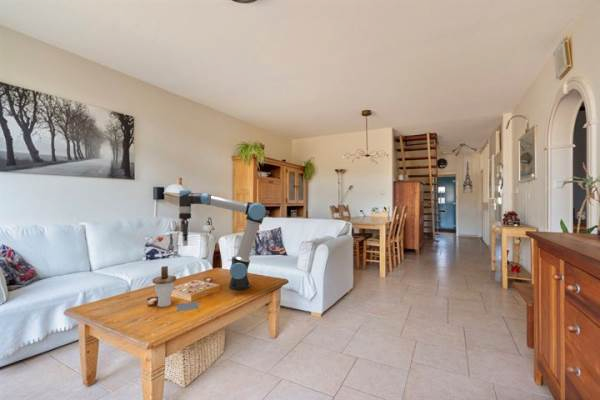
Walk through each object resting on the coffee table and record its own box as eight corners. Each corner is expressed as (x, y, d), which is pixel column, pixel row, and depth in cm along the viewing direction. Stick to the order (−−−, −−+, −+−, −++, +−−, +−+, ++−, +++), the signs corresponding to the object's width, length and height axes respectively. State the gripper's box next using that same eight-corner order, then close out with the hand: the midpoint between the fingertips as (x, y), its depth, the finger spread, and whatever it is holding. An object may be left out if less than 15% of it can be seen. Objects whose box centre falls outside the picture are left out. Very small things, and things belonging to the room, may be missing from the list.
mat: (197, 302, 178) (197, 301, 178) (199, 309, 167) (199, 308, 167) (176, 305, 173) (176, 304, 173) (177, 312, 162) (177, 311, 162)
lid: (176, 277, 181) (176, 263, 182) (176, 282, 170) (176, 268, 170) (153, 279, 176) (153, 265, 176) (151, 284, 164) (151, 270, 164)
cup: (166, 309, 167) (166, 283, 167) (150, 307, 169) (150, 282, 169) (177, 302, 177) (177, 279, 177) (162, 301, 179) (162, 277, 179)
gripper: (178, 212, 201) (178, 241, 201) (179, 213, 178) (179, 247, 178) (190, 212, 204) (189, 241, 204) (192, 213, 181) (192, 246, 181)
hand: (185, 244), depth 191 cm, fingers open, 13 cm apart
